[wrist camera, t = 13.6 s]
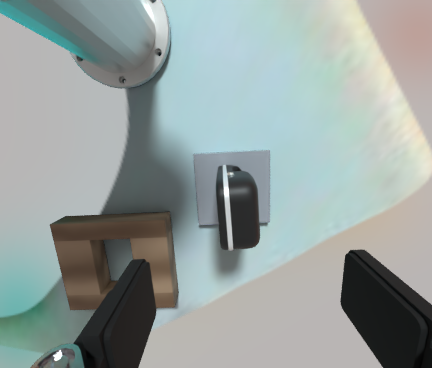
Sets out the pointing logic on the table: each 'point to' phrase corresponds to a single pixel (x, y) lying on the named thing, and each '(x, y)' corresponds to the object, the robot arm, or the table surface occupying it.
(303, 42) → the table surface
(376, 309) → the robot arm
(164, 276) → the holder
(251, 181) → the battery charger
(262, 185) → the tile
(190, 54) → the table surface
